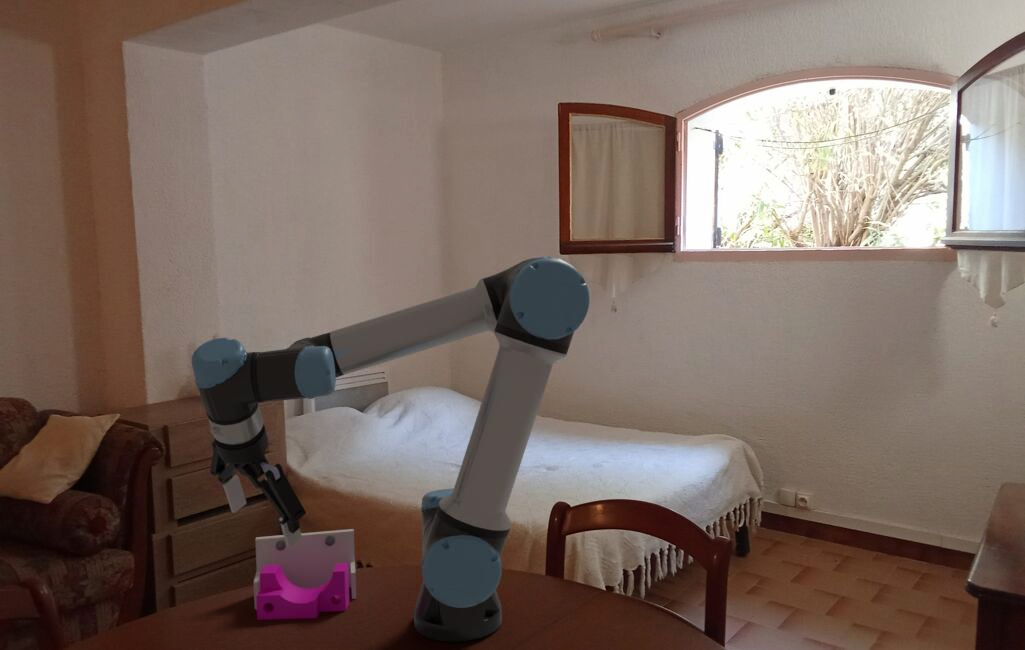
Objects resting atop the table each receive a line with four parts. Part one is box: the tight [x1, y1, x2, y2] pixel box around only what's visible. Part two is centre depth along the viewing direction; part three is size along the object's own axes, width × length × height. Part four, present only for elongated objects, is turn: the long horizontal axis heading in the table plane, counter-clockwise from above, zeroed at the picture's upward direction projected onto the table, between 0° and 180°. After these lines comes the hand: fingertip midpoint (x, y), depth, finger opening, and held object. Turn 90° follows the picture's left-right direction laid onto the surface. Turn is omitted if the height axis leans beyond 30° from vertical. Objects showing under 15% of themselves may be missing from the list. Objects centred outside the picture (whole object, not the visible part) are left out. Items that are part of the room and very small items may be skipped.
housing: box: [253, 528, 357, 610], centre depth 146 cm, size 7×18×11 cm, turn 103°
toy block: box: [256, 563, 350, 621], centre depth 141 cm, size 15×6×8 cm, turn 92°
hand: (266, 524), depth 132 cm, fingers open, 13 cm apart
